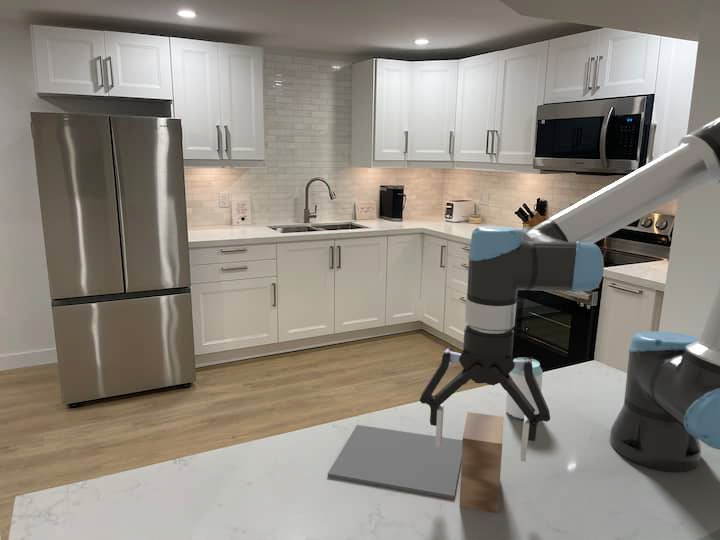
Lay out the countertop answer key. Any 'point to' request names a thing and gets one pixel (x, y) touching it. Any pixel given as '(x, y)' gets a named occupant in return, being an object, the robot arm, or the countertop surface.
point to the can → (523, 388)
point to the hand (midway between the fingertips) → (480, 449)
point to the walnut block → (481, 462)
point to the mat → (400, 461)
